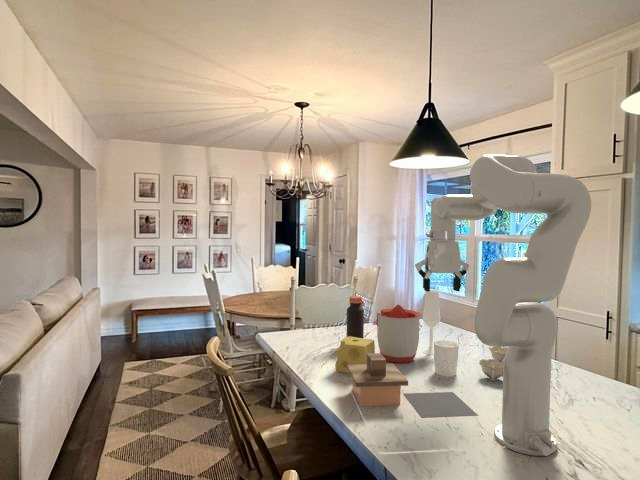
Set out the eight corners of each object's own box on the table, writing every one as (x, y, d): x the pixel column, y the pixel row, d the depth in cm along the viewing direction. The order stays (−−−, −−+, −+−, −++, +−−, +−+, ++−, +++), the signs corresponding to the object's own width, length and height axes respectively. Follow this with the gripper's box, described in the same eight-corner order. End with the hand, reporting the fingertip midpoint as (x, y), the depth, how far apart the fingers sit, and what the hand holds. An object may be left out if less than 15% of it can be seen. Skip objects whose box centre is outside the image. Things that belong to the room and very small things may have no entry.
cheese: (335, 372, 135) (335, 342, 135) (348, 362, 145) (348, 334, 145) (364, 377, 130) (364, 346, 130) (375, 367, 140) (376, 338, 140)
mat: (478, 416, 104) (478, 415, 104) (421, 418, 102) (421, 417, 102) (452, 392, 119) (452, 391, 119) (402, 394, 117) (402, 393, 117)
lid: (408, 385, 108) (408, 364, 108) (356, 387, 107) (356, 365, 107) (393, 367, 122) (393, 348, 122) (347, 368, 121) (347, 349, 121)
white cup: (459, 379, 130) (460, 348, 130) (434, 376, 132) (434, 346, 131) (456, 370, 138) (457, 341, 138) (432, 368, 139) (433, 339, 139)
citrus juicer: (377, 349, 161) (378, 299, 160) (422, 355, 154) (423, 302, 154) (366, 361, 146) (367, 305, 146) (415, 368, 140) (416, 310, 139)
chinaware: (487, 362, 152) (483, 317, 152) (538, 365, 144) (533, 318, 145) (479, 388, 127) (474, 334, 128) (539, 393, 120) (534, 336, 120)
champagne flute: (432, 356, 153) (434, 292, 153) (418, 351, 159) (419, 290, 158) (443, 352, 158) (444, 291, 157) (428, 348, 163) (430, 288, 162)
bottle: (363, 344, 168) (364, 295, 167) (363, 348, 161) (364, 298, 161) (346, 343, 169) (347, 295, 168) (346, 348, 162) (346, 298, 161)
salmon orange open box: (400, 405, 110) (400, 383, 110) (360, 406, 109) (360, 384, 109) (388, 389, 121) (389, 369, 121) (352, 390, 120) (352, 370, 120)
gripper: (420, 236, 123) (419, 292, 124) (474, 237, 125) (473, 292, 126) (412, 236, 131) (411, 289, 131) (463, 236, 133) (462, 288, 133)
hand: (441, 290), depth 129 cm, fingers open, 9 cm apart
